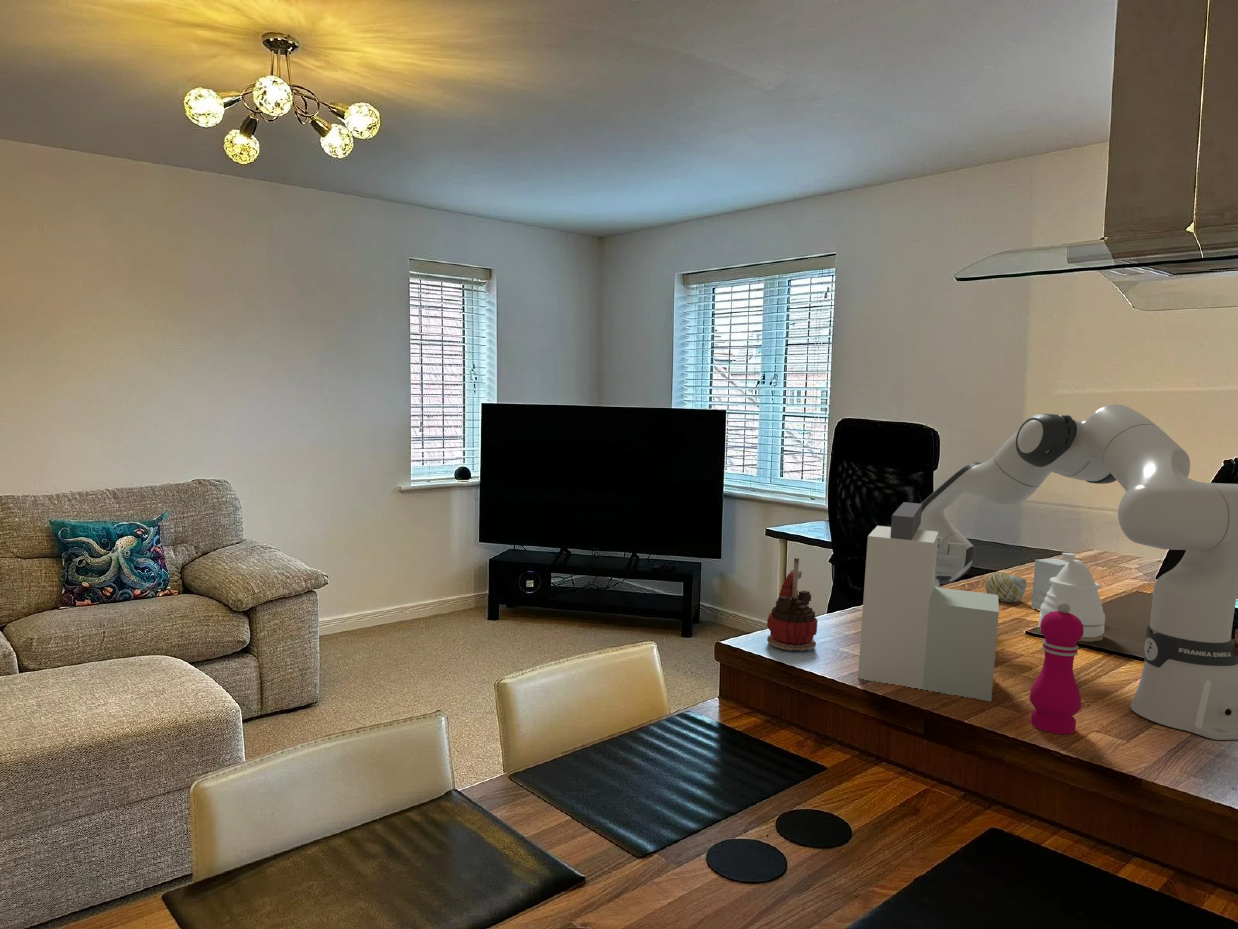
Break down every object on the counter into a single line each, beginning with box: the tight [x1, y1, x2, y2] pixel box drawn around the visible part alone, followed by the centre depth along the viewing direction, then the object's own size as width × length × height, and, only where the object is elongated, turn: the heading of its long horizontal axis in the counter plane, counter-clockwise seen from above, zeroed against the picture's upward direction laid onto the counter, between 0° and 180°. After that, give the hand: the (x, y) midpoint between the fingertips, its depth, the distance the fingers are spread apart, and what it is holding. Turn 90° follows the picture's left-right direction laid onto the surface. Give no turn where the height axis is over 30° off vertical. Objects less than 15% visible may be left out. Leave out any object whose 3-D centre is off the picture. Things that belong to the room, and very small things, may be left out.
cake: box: [766, 557, 818, 651], centre depth 170 cm, size 11×9×18 cm
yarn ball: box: [985, 571, 1028, 603], centre depth 219 cm, size 10×10×10 cm
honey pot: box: [1038, 552, 1106, 637], centre depth 189 cm, size 13×13×18 cm
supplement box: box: [1031, 558, 1069, 610], centre depth 208 cm, size 7×7×13 cm
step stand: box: [857, 525, 1000, 702], centre depth 153 cm, size 14×22×26 cm, turn 66°
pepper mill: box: [1029, 602, 1084, 735], centre depth 132 cm, size 7×7×20 cm
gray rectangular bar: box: [890, 501, 922, 540], centre depth 158 cm, size 22×4×4 cm, turn 156°
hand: (914, 537), depth 178 cm, fingers open, 8 cm apart
